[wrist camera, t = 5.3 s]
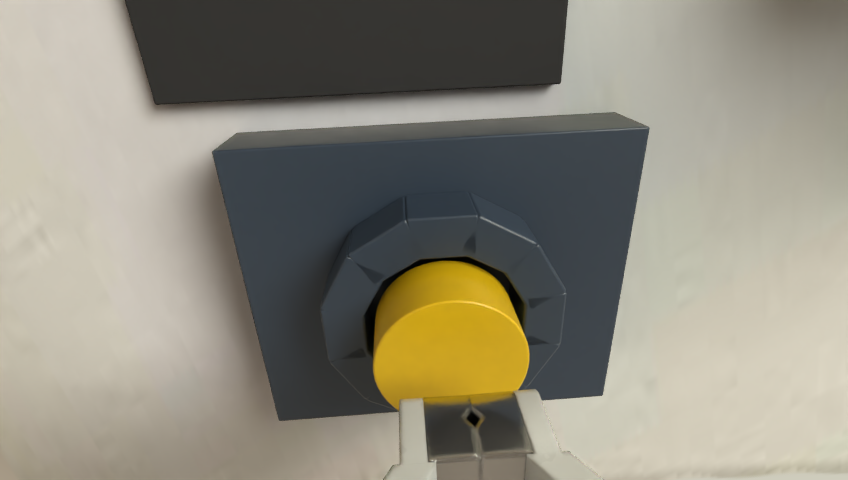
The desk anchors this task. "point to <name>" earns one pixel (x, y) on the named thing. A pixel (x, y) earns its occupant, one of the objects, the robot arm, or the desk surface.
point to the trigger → (447, 335)
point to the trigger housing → (430, 240)
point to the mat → (343, 46)
